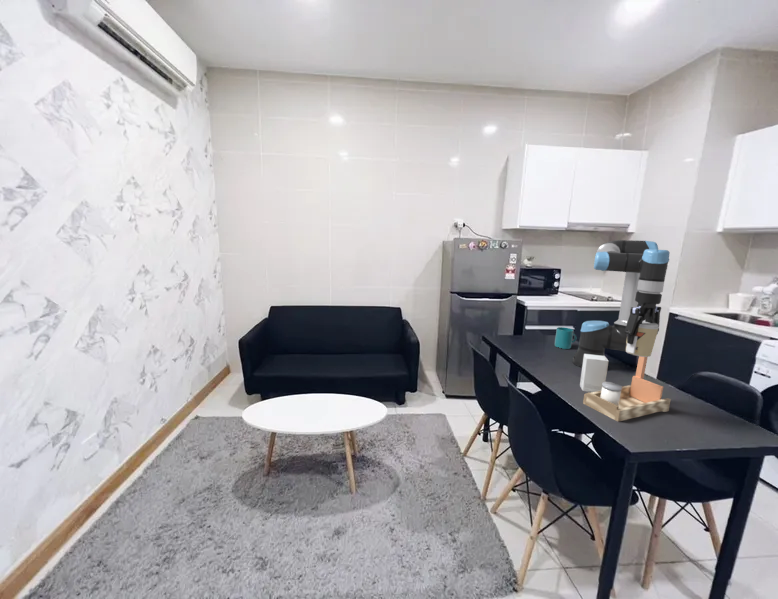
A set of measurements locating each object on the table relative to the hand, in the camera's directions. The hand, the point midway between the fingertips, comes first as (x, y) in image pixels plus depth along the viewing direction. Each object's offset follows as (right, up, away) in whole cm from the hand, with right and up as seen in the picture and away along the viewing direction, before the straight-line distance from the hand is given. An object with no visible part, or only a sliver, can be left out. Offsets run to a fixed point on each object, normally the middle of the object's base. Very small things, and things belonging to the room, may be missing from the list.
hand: (638, 351), depth 128 cm
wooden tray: (-2, -23, +4) cm, 23 cm away
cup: (+13, -10, +77) cm, 79 cm away
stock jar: (-12, -22, 0) cm, 25 cm away
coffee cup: (0, -1, 0) cm, 1 cm away
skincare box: (-7, -20, +18) cm, 28 cm away
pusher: (+9, -21, +8) cm, 24 cm away
